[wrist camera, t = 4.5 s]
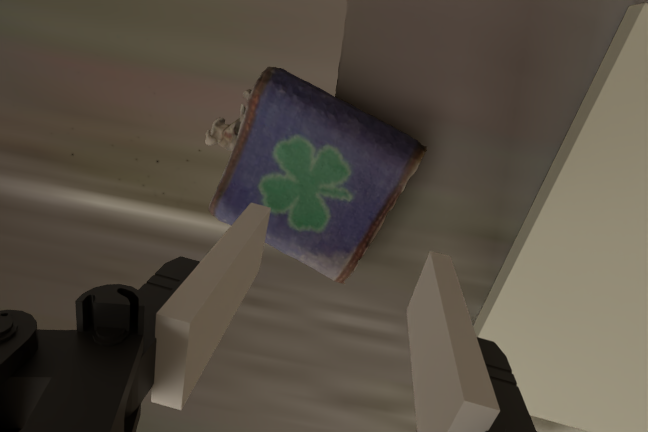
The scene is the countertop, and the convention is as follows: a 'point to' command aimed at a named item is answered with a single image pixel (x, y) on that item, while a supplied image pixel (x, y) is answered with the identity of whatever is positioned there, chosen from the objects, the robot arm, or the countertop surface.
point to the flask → (312, 171)
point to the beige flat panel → (586, 259)
